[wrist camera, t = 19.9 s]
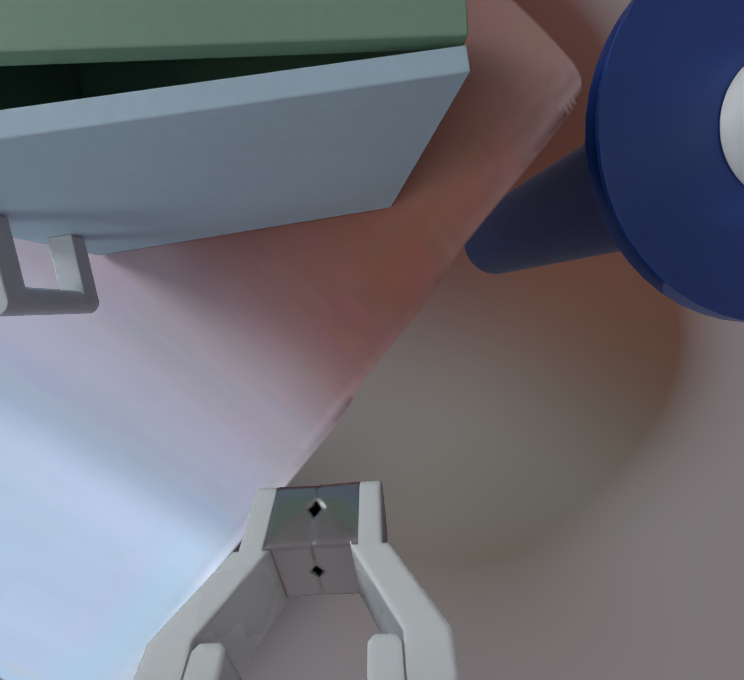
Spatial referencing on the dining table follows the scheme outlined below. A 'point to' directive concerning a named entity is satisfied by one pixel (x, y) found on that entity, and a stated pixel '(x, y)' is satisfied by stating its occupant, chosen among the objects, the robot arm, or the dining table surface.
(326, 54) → the cupboard
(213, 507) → the dining table surface
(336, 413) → the dining table surface
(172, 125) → the cupboard door
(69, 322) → the dining table surface
